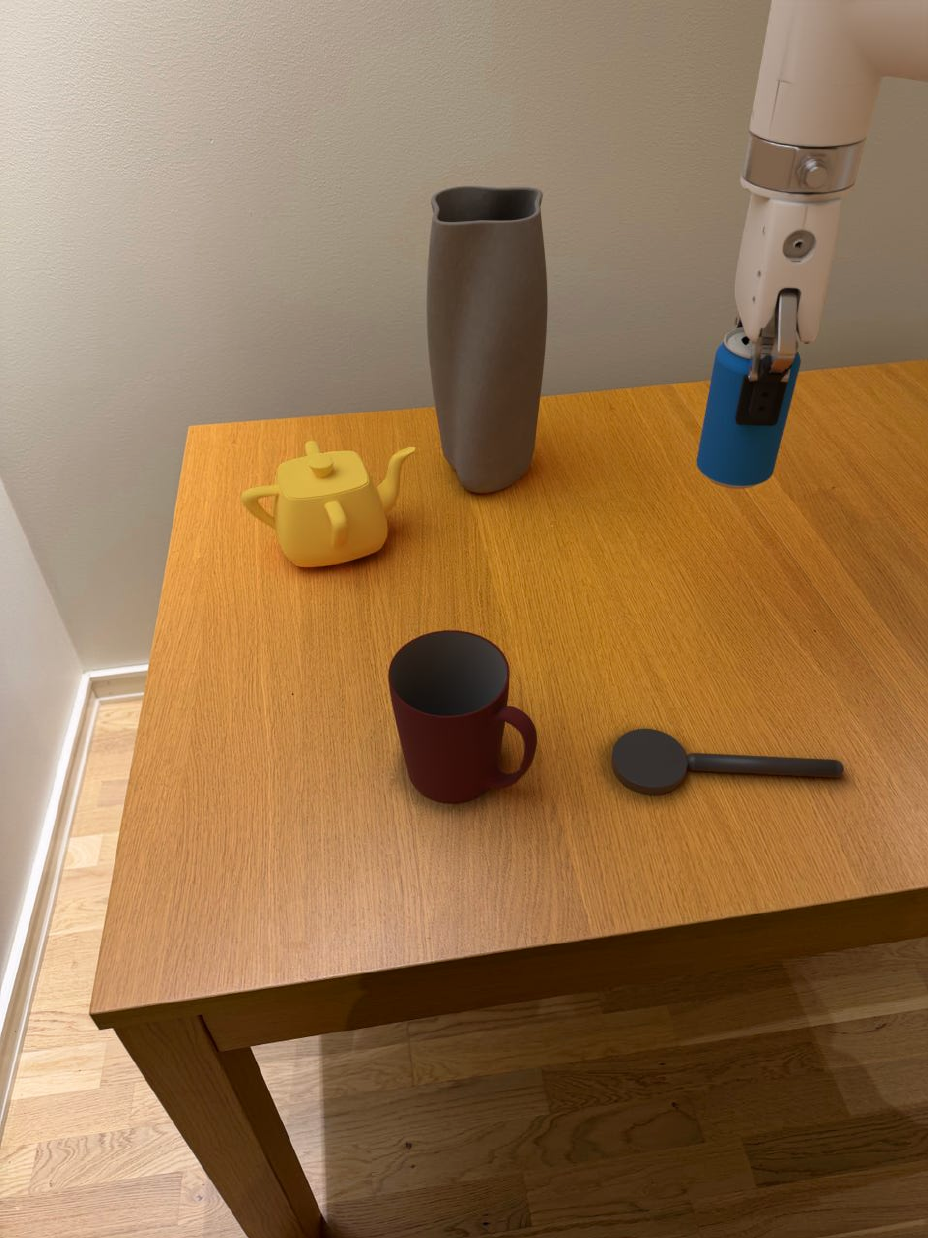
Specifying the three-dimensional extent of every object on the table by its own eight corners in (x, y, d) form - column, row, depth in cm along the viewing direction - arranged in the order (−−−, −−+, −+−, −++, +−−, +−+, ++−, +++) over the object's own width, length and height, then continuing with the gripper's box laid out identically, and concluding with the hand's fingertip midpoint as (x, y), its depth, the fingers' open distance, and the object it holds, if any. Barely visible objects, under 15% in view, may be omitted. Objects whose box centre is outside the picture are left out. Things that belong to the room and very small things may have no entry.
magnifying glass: (832, 745, 73) (836, 734, 72) (850, 805, 69) (855, 794, 68) (609, 734, 74) (611, 723, 73) (612, 793, 70) (614, 782, 69)
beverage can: (754, 449, 80) (783, 320, 72) (784, 489, 75) (819, 356, 67) (684, 456, 79) (706, 327, 71) (710, 497, 74) (736, 364, 66)
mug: (561, 776, 71) (569, 681, 64) (495, 852, 66) (497, 759, 59) (444, 709, 77) (439, 614, 69) (375, 775, 72) (362, 680, 64)
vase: (545, 448, 107) (559, 184, 87) (533, 507, 99) (545, 227, 78) (446, 441, 109) (436, 179, 89) (425, 497, 100) (409, 221, 80)
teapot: (327, 491, 101) (314, 411, 95) (422, 523, 97) (416, 441, 90) (248, 557, 93) (228, 474, 86) (348, 596, 88) (335, 511, 81)
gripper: (890, 205, 54) (816, 460, 66) (831, 127, 66) (779, 353, 78) (762, 203, 54) (713, 456, 66) (728, 127, 67) (692, 351, 79)
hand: (749, 399), depth 72 cm, fingers closed on beverage can, 6 cm apart
